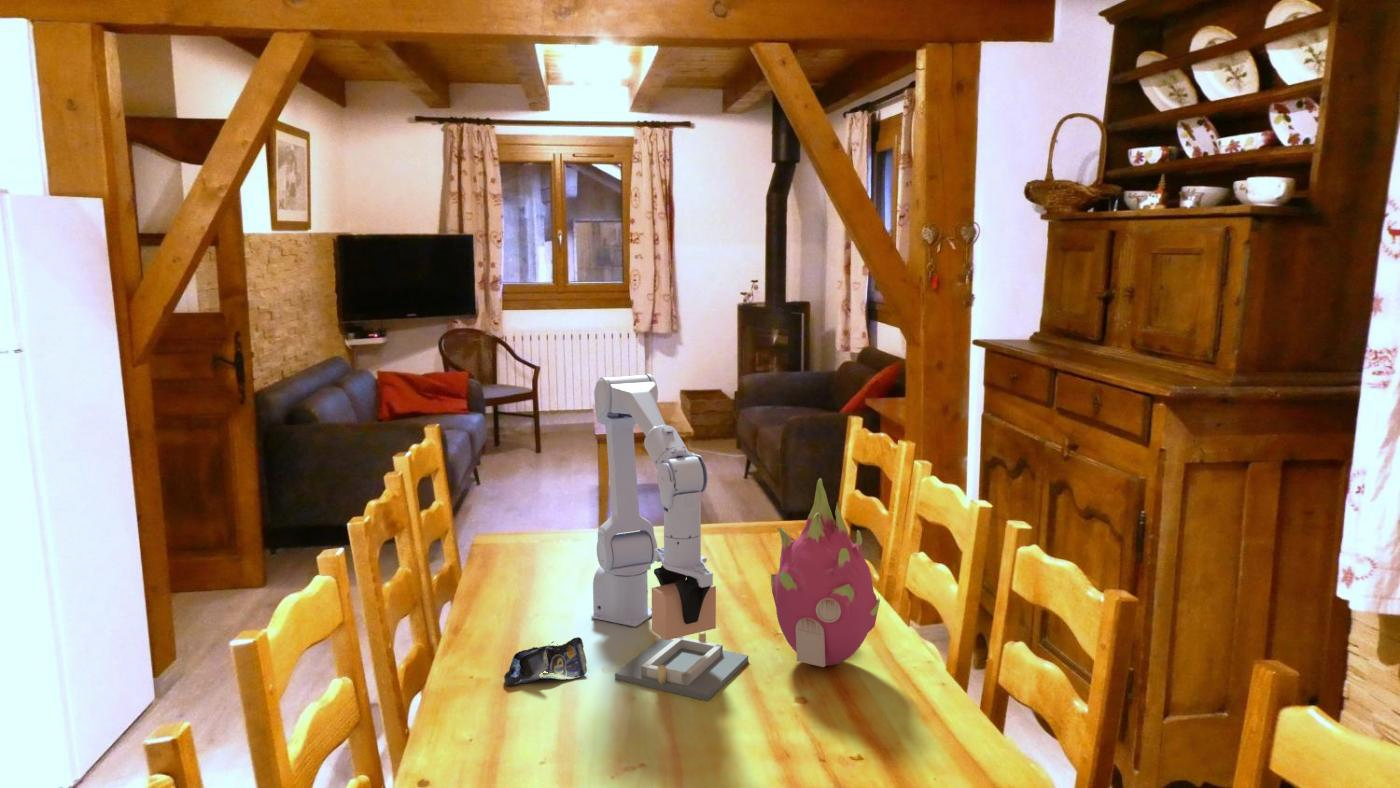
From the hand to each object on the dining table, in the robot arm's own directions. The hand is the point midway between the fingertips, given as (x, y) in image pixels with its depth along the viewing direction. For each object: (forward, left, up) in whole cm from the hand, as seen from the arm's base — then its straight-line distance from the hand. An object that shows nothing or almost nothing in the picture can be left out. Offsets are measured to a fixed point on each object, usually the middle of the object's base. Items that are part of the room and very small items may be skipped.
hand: (682, 616), depth 151 cm
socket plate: (0, 0, -9) cm, 9 cm away
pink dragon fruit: (+19, +12, -9) cm, 24 cm away
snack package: (-19, -11, -9) cm, 24 cm away
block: (0, 0, -2) cm, 2 cm away
